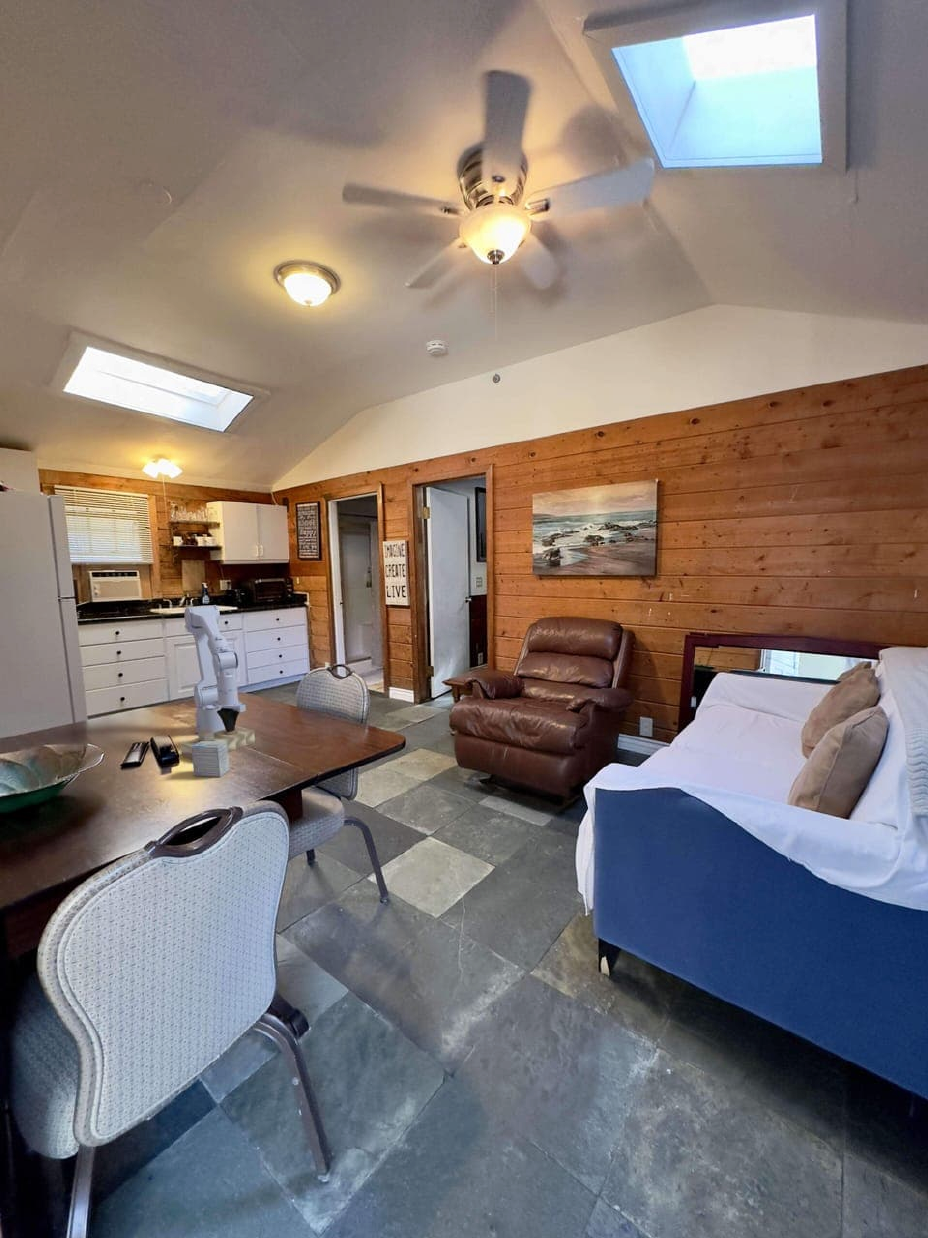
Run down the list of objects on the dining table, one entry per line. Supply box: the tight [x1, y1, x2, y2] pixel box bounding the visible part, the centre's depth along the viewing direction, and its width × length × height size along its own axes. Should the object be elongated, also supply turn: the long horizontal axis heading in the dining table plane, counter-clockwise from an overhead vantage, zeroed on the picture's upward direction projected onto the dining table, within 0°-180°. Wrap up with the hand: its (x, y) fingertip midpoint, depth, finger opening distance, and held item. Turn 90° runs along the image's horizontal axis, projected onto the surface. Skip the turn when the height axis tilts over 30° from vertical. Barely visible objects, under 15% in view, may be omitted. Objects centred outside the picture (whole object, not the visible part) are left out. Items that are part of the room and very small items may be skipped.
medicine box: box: [192, 741, 230, 778], centre depth 132 cm, size 8×4×9 cm, turn 84°
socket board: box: [180, 725, 256, 761], centre depth 150 cm, size 18×10×4 cm, turn 150°
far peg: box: [223, 729, 238, 735], centre depth 154 cm, size 3×3×4 cm
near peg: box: [197, 729, 214, 742], centre depth 147 cm, size 3×3×4 cm
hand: (230, 730), depth 154 cm, fingers closed, pressing on far peg
